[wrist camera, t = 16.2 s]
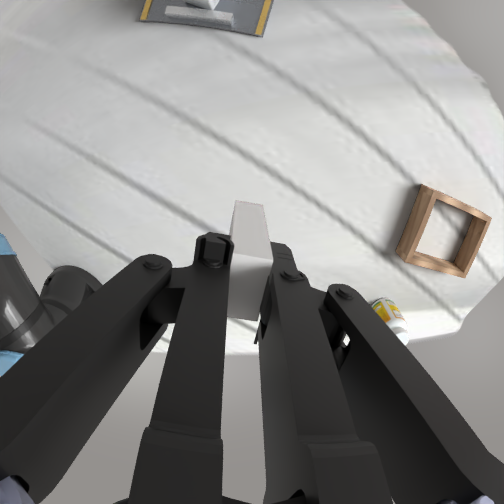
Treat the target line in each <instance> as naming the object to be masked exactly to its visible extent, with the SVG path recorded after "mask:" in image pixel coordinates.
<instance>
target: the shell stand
mask: <svg viewBox="0 0 504 504" xmlns="http://www.w3.org/2000/svg"><path fill="white" fill-rule="evenodd" d="M436 199H439V200H441V201H443V202H446V203H448V204H450V205H452V206H455V207H457V208H459V209H461V210H464V211H466V212H468V213H470V214H472V215H474V217H473V219H472V222H471V224H470V227H469V229H468V231H467V234H466V236H465V239H464V241H463V243H462V245H461V248H460V250H459V252H458V254H457V256H456V259H455V261H454V263H452V262H449V261H446V260H443V259H439V258H436V257H433V256H429V255H426V254H422V253H419V252H416V251H415V250H416V248H417V246H418V243H419V241H420V239H421V236H422V234H423V231H424V229H425V227H426V224H427V222H428V219H429V216H430V214H431V211H432V209H433V206H434V203H435V201H436ZM491 219H492V218H491V217H489V216H488V215H486V214H484V213H483V212H481V211H479V210H477V209H475V208H473V207H471V206H469V205H467V204H465V203H463V202H461V201H459V200H457V199H454V198H452V197H450V196H448V195H446V194H443V193H441V192H439V191H437V190H434V189H432V188H430V187H427V186H425V185H423V184H421V187H420V190H419V193H418V196H417V198H416V201H415V204H414V207H413V209H412V212H411V214H410V217H409V220H408V222H407V225H406V227H405V230H404V232H403V234H402V237H401V239H400V242H399V244H398V246H397V249H396V251H395V252H396V253H397V254H398V255H399V256H400V257H401V258H402V259H403V261H404V262H406V263H410V264H414V265H417V266H421V267H425V268H429V269H432V270H436V271H440V272H444V273H447V274H451V275H454V276H458V277H462V278H465V277H466V275H467V273H468V271H469V269H470V267H471V265H472V263H473V261H474V259H475V257H476V254H477V252H478V250H479V248H480V246H481V243H482V241H483V239H484V236H485V234H486V232H487V229H488V227H489V224H490V222H491Z"/></svg>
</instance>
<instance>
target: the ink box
mask: <svg viewBox="0 0 504 504" xmlns="http://www.w3.org/2000/svg"><path fill="white" fill-rule="evenodd" d="M183 1H184V2H186V3H190V4H193V5H196V6H198V7H202V8H204V9H208V10H214V9H215V7H216V5H217V4H218V2H219V1H220V0H183Z"/></svg>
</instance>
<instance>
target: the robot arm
mask: <svg viewBox="0 0 504 504" xmlns="http://www.w3.org/2000/svg"><path fill="white" fill-rule="evenodd" d="M16 256H17V254H16V253H15V252H14V251H13V250H12V248H11V246H10V244H9V243H8V241H7V239H6V238H5V236H4V235H3V234H1V233H0V375H1V377H0V504H39V503H40V502H41V501H43V499H45V498H46V496H48V495H49V494H50V493H51V492H52V491H53V489H54V488H55V487H56V485H57V484H58V483H59V481H60V480H61V479H62V478H63V476H64V475H65V473H66V472H67V470H68V468H69V467H70V466H71V464H72V463H73V461H74V460H75V458H76V457H77V455H78V454H79V452H80V451H81V449H82V448H83V446H84V445H85V443H86V442H87V440H88V439H89V438H90V436H91V435H92V433H93V432H94V431H95V429H96V428H97V426H98V425H99V423H100V422H101V420H102V419H103V418H104V416H105V415H106V413H107V412H108V410H109V409H110V408H111V406H112V405H113V403H114V402H115V400H116V399H117V398H118V396H119V395H120V393H121V392H122V390H123V389H124V388H125V386H126V385H127V383H128V382H129V381H130V379H131V378H132V377H133V375H134V374H135V372H136V371H137V369H138V368H139V367H140V365H141V364H142V363H143V361H144V360H145V358H146V357H147V356H148V354H149V353H150V351H151V350H152V349H153V347H154V346H155V345H156V343H157V342H158V340H159V339H160V338H161V336H162V335H163V334H164V332H165V331H166V329H167V327H168V323H175V326H174V330H173V333H172V337H171V341H170V345H169V348H168V352H167V356H166V360H165V364H164V368H163V372H162V376H161V379H160V383H159V388H158V392H157V396H156V400H155V404H154V408H153V413H152V417H151V421H150V424H149V427H146V428H145V430H144V432H143V435H142V439H141V442H140V447H139V452H138V456H137V460H136V466H135V470H134V475H133V480H132V485H131V490H130V495H129V498H127V499H124V500H121V501H118V502H116V503H114V504H250V503H246V502H242V501H239V500H235V499H231V498H228V497H225V496H222V472H223V441H222V439H221V411H222V392H223V374H224V356H225V340H226V324H227V317H231V318H237V319H244V320H251V321H258V317H259V313H260V315H261V319H260V323H259V326H258V330H257V334H256V337H255V341H254V344H257V341H258V342H259V360H260V376H261V394H262V411H263V412H262V413H263V429H264V430H263V431H264V449H265V467H266V492H265V496H264V500H263V504H393V502H392V499H393V500H394V502H395V504H504V464H503V463H502V462H501V461H499V460H498V459H497V458H496V457H494V456H493V455H492V454H491V453H489V452H488V451H487V449H486V448H485V446H484V445H483V444H482V442H481V441H480V439H479V438H478V437H477V435H476V434H475V433H474V431H473V430H472V429H471V427H470V426H469V425H468V423H467V422H466V421H465V419H464V418H463V417H462V416H461V414H460V413H459V412H458V410H457V409H456V408H455V407H454V405H453V404H452V403H451V402H450V400H449V399H448V398H447V396H446V395H445V394H444V393H443V391H442V390H441V389H440V388H439V386H438V385H437V384H436V383H435V381H434V380H433V379H432V378H431V376H430V375H429V374H428V373H427V372H426V370H425V369H424V368H423V367H422V365H421V364H420V363H419V362H418V361H417V359H416V358H415V357H414V356H413V355H412V353H411V352H410V351H409V350H408V349H407V347H406V346H405V345H404V344H403V343H402V342H401V340H400V339H399V338H398V337H397V336H396V335H395V333H394V332H393V331H392V330H391V329H390V328H389V326H388V325H387V324H386V323H385V322H384V321H383V320H382V318H381V317H380V316H379V315H378V314H377V313H376V312H375V310H374V309H373V308H372V307H371V306H370V305H369V304H368V303H367V301H366V300H365V299H364V298H363V297H362V296H361V295H360V294H359V293H358V292H357V291H356V290H355V289H353V288H351V287H350V286H348V285H345V284H332V285H330V286H329V287H328V290H327V292H324V291H320V290H317V289H315V288H312V287H310V284H309V281H308V278H307V277H306V275H305V274H303V273H302V272H300V271H298V270H297V267H296V264H295V261H294V258H293V255H292V252H291V249H290V248H289V247H287V246H286V245H285V244H281V243H275V242H270V239H269V234H268V229H267V224H266V218H265V213H264V208H263V205H260V204H255V203H249V202H244V201H238V200H236V201H235V206H234V211H233V216H232V222H231V227H230V232H229V235H224V234H219V233H213V232H208V233H207V234H205V235H201V236H199V237H198V238H197V239H196V246H195V254H194V261H193V264H192V265H190V266H188V267H183V268H172V263H171V261H170V260H168V259H167V258H165V257H163V256H159V255H156V254H153V255H152V254H148V255H143V256H140V257H138V258H136V259H135V260H134V261H133V262H131V263H130V264H129V265H128V266H126V267H125V268H124V269H123V270H121V271H120V272H119V273H118V274H116V275H115V276H114V277H113V278H111V279H110V280H109V281H108V282H107V283H105V284H104V285H103V286H102V284H101V283H100V282H99V281H98V280H97V279H96V278H95V277H94V276H93V275H91V274H90V273H88V272H87V271H85V270H83V269H81V268H78V267H74V266H62V267H59V268H57V269H56V270H54V271H53V272H52V273H51V274H50V276H48V278H47V279H46V281H45V283H44V286H43V289H42V292H41V295H40V297H39V295H38V294H37V292H36V290H35V289H34V287H33V285H32V284H31V282H30V280H29V278H28V277H27V275H26V273H25V271H24V269H23V268H22V266H21V264H20V262H19V260H18V259H17V257H16ZM346 334H347V335H348V337H349V339H350V341H349V344H348V345H347V346H346V345H345V344H344V342H343V340H344V338H345V336H346ZM391 497H392V498H391Z"/></svg>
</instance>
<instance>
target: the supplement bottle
mask: <svg viewBox="0 0 504 504" xmlns="http://www.w3.org/2000/svg"><path fill="white" fill-rule="evenodd" d="M371 307H372V308H373V309H374V310H375V312H376V313H377V314H378V315H379V316H380V317H381V318H382V320H383V321H384V322H385V323H386V324H387V325H388V326H389V328H390V329H391V330H392V331H393V332H394V333H395V335H396V336H397V337H398V338H399V339H400V340H401V342H402V343H403V344H404V345H406V344H407V343H408V341H409V335H408V333H407V324H406V322H405V320H404V318H403V317H402V315H401V313H400V312H399V310H398V308H397V307H396V305H395V304H394V302H393V301H392V300H391V299H388V298H382V299H379V300H377V301H376V302H375V303H374V304H373V305H372V306H371Z"/></svg>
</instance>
